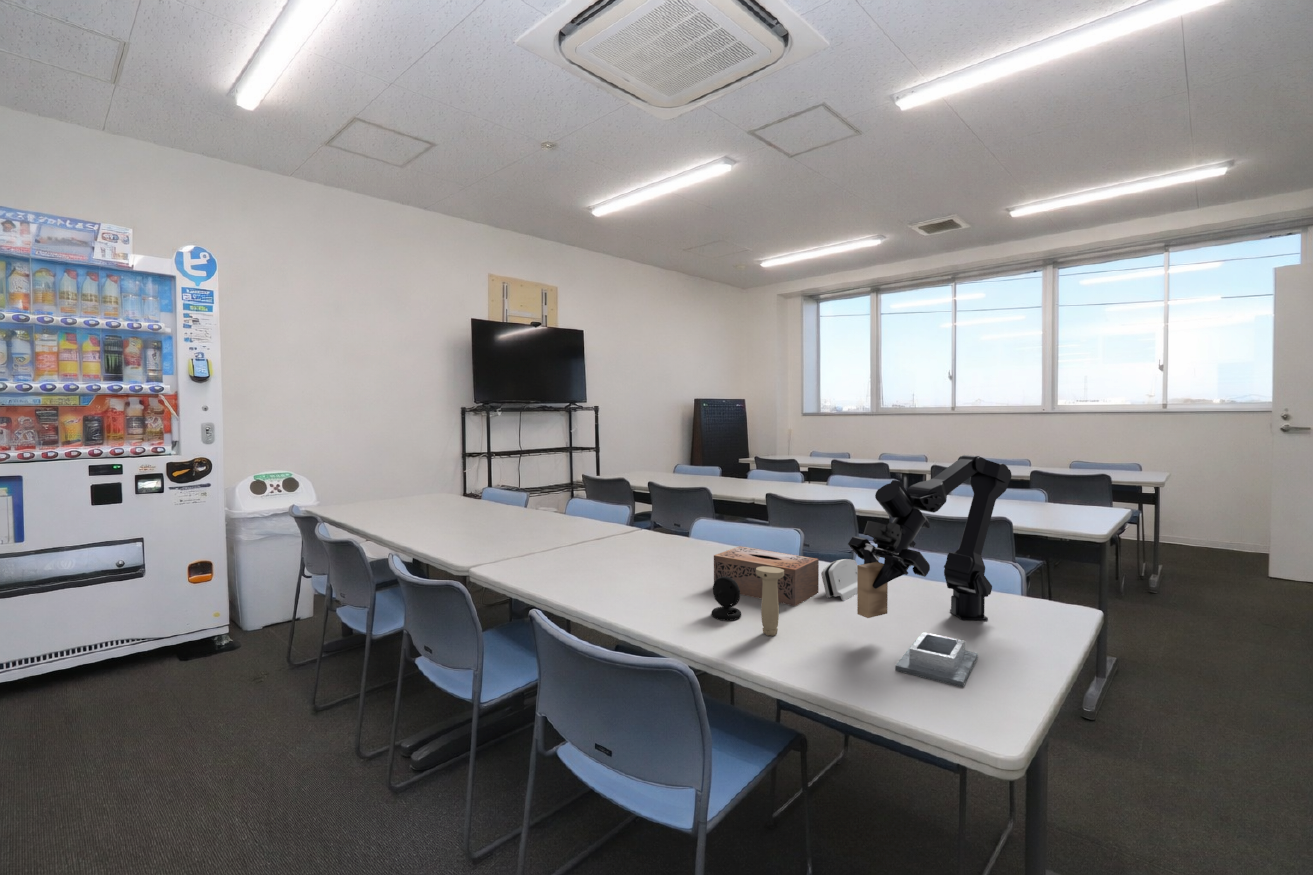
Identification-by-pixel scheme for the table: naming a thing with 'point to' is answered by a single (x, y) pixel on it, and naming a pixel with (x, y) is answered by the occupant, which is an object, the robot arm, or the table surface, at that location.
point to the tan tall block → (870, 591)
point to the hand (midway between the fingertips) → (867, 585)
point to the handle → (770, 598)
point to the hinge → (840, 578)
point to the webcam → (726, 598)
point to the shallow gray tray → (938, 659)
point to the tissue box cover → (744, 561)
